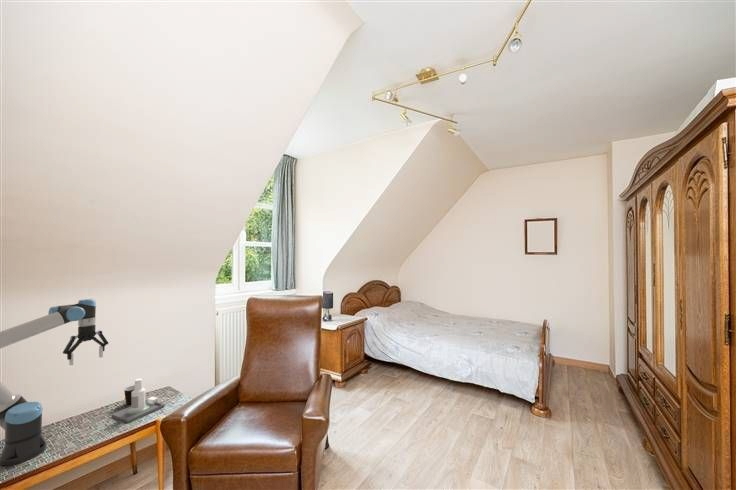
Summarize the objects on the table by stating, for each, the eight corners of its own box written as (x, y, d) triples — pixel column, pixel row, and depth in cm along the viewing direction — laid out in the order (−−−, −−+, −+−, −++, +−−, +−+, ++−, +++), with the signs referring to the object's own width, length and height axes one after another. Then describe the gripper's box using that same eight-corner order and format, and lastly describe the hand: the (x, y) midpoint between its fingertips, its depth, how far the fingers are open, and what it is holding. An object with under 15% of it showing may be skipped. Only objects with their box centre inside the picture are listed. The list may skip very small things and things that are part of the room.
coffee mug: (133, 406, 187) (133, 390, 188) (120, 406, 187) (120, 390, 188) (147, 397, 199) (147, 382, 199) (135, 397, 199) (135, 383, 199)
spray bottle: (134, 407, 183) (134, 378, 183) (147, 405, 185) (147, 376, 185) (129, 412, 176) (129, 382, 177) (142, 410, 178) (142, 380, 179)
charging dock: (127, 423, 168) (127, 415, 168) (111, 416, 175) (111, 409, 175) (164, 406, 186) (164, 399, 186) (148, 401, 193) (148, 394, 194)
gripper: (61, 330, 162) (60, 369, 161) (115, 321, 184) (115, 354, 183) (55, 329, 165) (54, 367, 164) (109, 320, 187) (108, 353, 187)
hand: (86, 360), depth 174 cm, fingers open, 13 cm apart
